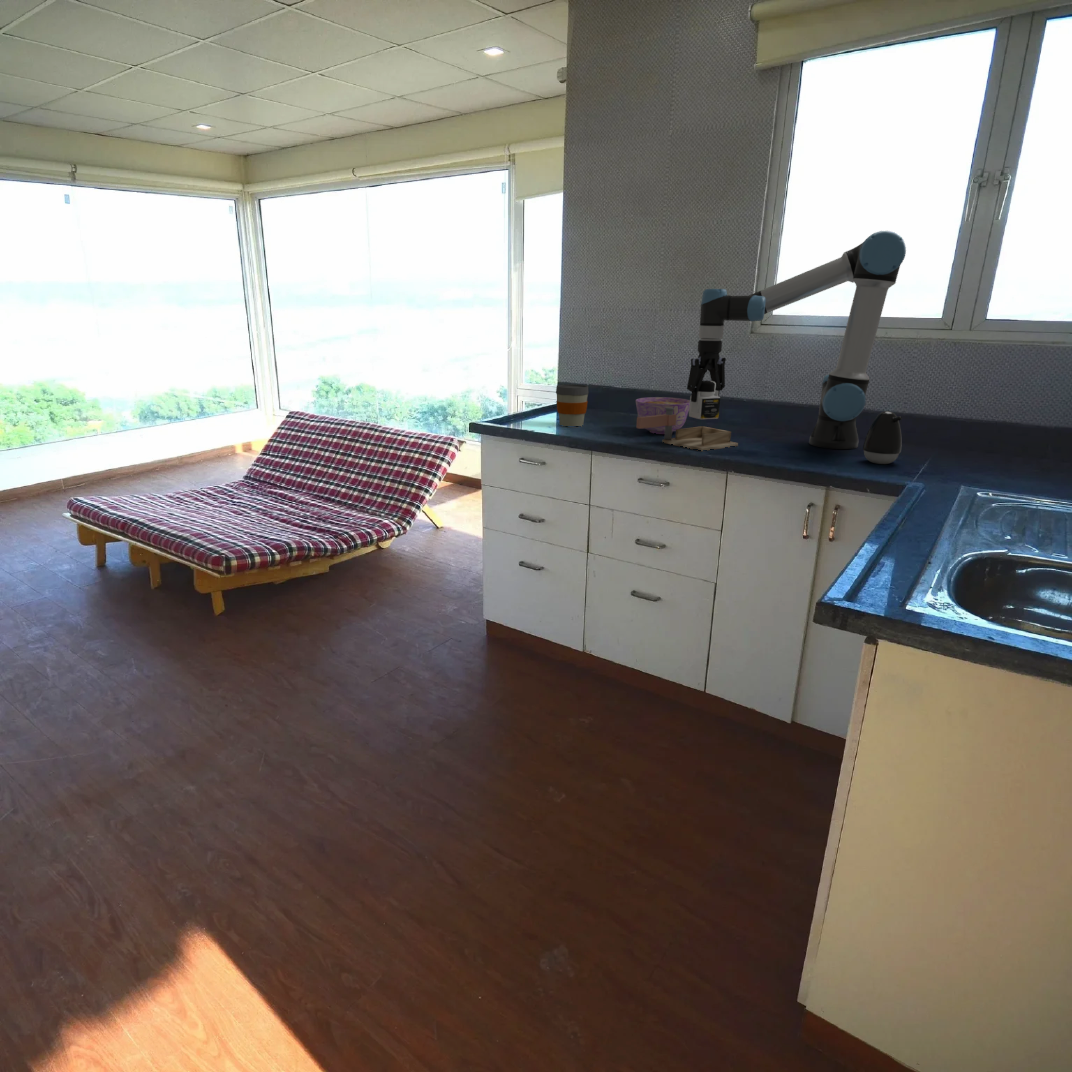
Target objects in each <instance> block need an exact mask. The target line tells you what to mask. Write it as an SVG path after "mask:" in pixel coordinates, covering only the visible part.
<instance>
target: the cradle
mask: <svg viewBox="0 0 1072 1072" xmlns="http://www.w3.org/2000/svg"><path fill="white" fill-rule="evenodd" d="M731 437H732V431H729V430H724V429H718V428H713V427H709V426H708V427H707V426H703V425H702V426H695V427H693V426H692V427H685V428H683V427H682V428H680V429H676V431H675V437H672V439H670V440H667V439H663V438H662V443H663V442H664V443H663V444H668V445H671V444H673V445H672V446H676V447H680V446H683V447H682V448H685V447H687V448H686V449H689V448H690V450H693V449H698V450H701V451H700V452H704V451H703V450H707V451H711V450H710V449H714V450H720V449H726V448H725V447H728V448H731V447H730V446H735V447H739V442H734V441H731ZM698 450H697V451H698Z"/></svg>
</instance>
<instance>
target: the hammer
mask: <svg viewBox="0 0 1072 1072" xmlns="http://www.w3.org/2000/svg"><path fill="white" fill-rule="evenodd" d="M673 410H674V408H666V414H663V415H654V416H644V417H638V416H637V417H636V429H641V430H642V429H645V428H651V427H659V426H665V434H664V437H663V438H664V439H667V440H670V439H672V438H673V437H672V436H673V433H672V425H676V414H673Z"/></svg>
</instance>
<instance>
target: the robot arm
mask: <svg viewBox="0 0 1072 1072" xmlns="http://www.w3.org/2000/svg"><path fill="white" fill-rule="evenodd" d="M906 251H907V247H906V243H905V241H904V239H903V237H902V236H901V235H900V234H898V233H897V232H895V231H892V230H891V231H890V230H879V231H877V232H876V231H875V232H873V233H872V234H870V235H869V236H867V238H866V239H865V240H864V241H863V242H861V243H860V244H859V245H857V246H855V247H854V248H851V249H849V250H846V251H844V252H843V253H842V255H841V256H840V257H838V258H836V259H833V260H831V261H829V262H828V261H827V263H824V264H821V265H818V266H816V267H814V268H812V269H808V270H807V271H804V272H802V273H800V274H798V275H795V276H793V277H790V278H788V279H785V280H783V281H781V282H778V283H775V284H773V285H771V286H769V287H766V288H764V289H761V290H759V291H756V292H754V293H751V294H749V295H729V294H728V293H727V292H728V291H727V289H726V288H706V289H704V290H703V291H702V296H701V303H700V315H699V330H698V338H699V339H700V340H698V341H697V352H698V357H697V358H691V359H690V370H689V374H688V375H689V376H688V381H687V386H686V389H687V391H689V392H691V395H690V396H691V402H692V407H691V412H699V402H700V392H698V391H699V389H700V386H701V383H702V381H704V377H705V376H706V373H708V372H709V377H710V381H713V382H715V383H716V388H715V394H714V396H718V397H720V392H722V391H723V390H724V389H725V387H726V373H725V372H726V369H725V366H726V361H727V359H726V357H721V356H720V353H721V352H722V347H723V341H722V339H723V336H724V327H725V321H727V322H729V321H735V322H736V321H737V322H751V323H752V322H760V321H762V320H764V318H765V315H766V314H768V313H771V312H774V311H775V310H778V309H780V308H783V307H786V306H788V305H791V304H793V303H797V302H799V301H801V300H805V299H806V298H808V297H811V296H814V295H817V294H818V293H821V292H824V291H826V290H830V289H831V288H834V287H836V286H839V285H842V284H843V283H844V284H845V283H846V282H847V283H848V282H850V283H851V284H852V283H854V284H855V289H854V290H855V292H854V295H853V298H852V299H853V300H852V303H851V307H850V312H849V315H848V319H847V323H846V327H845V330H844V335H843V338H842V342H841V343H842V344H841V347H840V351H839V355H838V358H837V359H838V360H837V363H836V367H835V368H834V369H833V370H832V371H830V372H829V374H826V375H825V376H824V377H823V380H822V383H821V392H820V393H821V395H820V401H819V408H818V409H819V410H818V416H817V421H816V423H815V426H814V428H813V429H812V431H811V434H810V436H809V441H808V443H809V445H811V446H814V447H817V448H824V449H833V450H850V449H851V450H852V449H857V448H858V447H859V441H860V440H859V435H858V431H857V430H858V429H857V426H856V425H857V424H856V422H857V417H858V416H859V415H860V414H861V413H862V412H863V410H864V409H865V406H866V400H867V398H866V394H867V390H868V386H869V383H870V376H869V375H868V374H867V370H868V365H869V362H870V359H871V354H872V350H873V347H874V342H875V339H876V335H877V332H878V328H879V324H880V320H881V317H882V313H883V310H884V305H885V302H886V298H887V295H888V291H889V289H890V288H891V287H892V286H895V284H896V283H897V282H896V281H897V278H898V274H899V271H900V268H901V265H902V264H903V262H904V259H905V258H906V255H907V254H906V253H907V252H906Z"/></svg>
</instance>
